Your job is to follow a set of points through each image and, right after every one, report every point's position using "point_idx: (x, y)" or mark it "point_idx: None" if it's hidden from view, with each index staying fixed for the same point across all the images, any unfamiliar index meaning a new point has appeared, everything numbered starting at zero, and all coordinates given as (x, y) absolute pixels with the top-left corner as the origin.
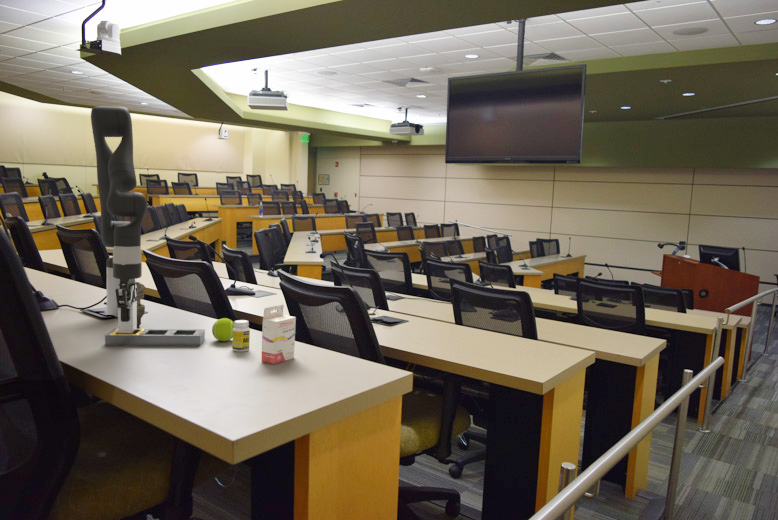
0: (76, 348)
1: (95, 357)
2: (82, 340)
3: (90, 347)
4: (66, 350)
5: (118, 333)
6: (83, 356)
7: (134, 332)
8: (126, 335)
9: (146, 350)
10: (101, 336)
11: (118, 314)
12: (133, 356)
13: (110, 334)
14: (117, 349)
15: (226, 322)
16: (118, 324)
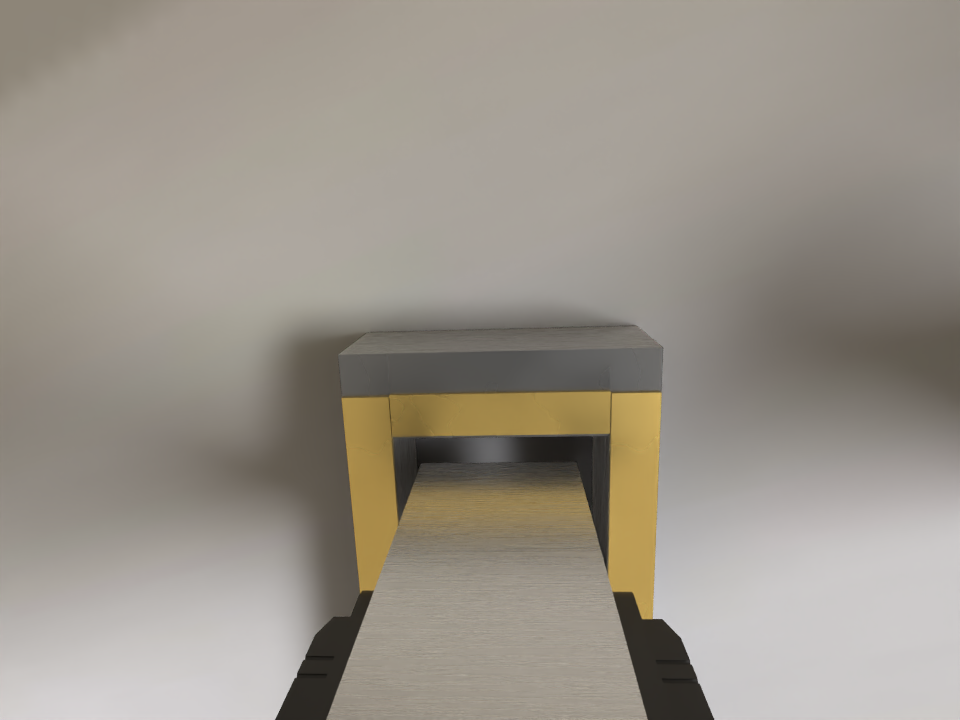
0: (248, 104)
1: (11, 382)
2: (565, 24)
3: (299, 222)
4: (166, 37)
5: (421, 467)
6: (16, 278)
7: (602, 554)
8: (359, 558)
9: (263, 676)
10: (744, 161)
11: (368, 611)
12: (94, 631)
13: (364, 404)
14: (263, 470)
15: None
16: (401, 520)
